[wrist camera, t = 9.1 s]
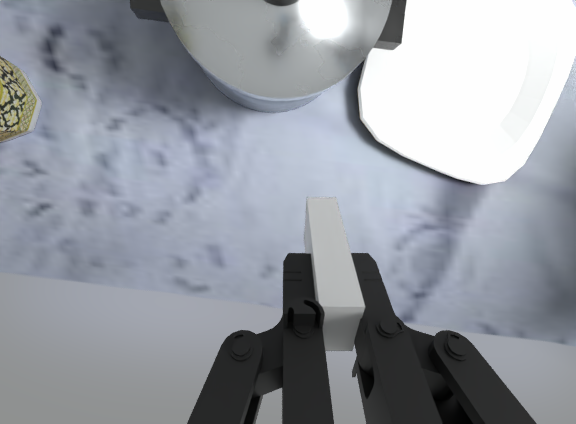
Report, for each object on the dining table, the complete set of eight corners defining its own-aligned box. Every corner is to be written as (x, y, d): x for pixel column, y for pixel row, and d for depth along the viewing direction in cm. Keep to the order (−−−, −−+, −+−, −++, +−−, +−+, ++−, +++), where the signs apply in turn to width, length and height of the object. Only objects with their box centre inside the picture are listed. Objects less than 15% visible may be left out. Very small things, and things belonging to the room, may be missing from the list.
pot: (380, -42, 27) (424, -112, 20) (364, 121, 30) (398, 107, 23) (158, -80, 24) (122, -175, 18) (159, 102, 27) (127, 80, 20)
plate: (499, 200, 33) (512, 202, 32) (333, 130, 30) (338, 128, 28) (584, 14, 31) (603, 6, 29) (415, -87, 27) (426, -103, 26)
